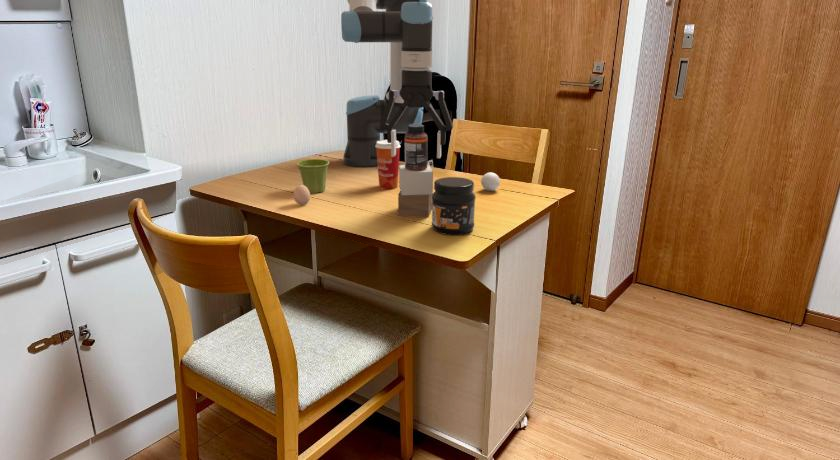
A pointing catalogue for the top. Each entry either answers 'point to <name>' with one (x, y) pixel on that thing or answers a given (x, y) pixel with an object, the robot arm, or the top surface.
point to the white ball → (490, 181)
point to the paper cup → (387, 164)
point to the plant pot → (314, 174)
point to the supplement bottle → (416, 148)
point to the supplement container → (453, 205)
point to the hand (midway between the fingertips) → (416, 156)
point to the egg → (302, 195)
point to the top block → (415, 181)
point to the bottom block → (414, 205)
